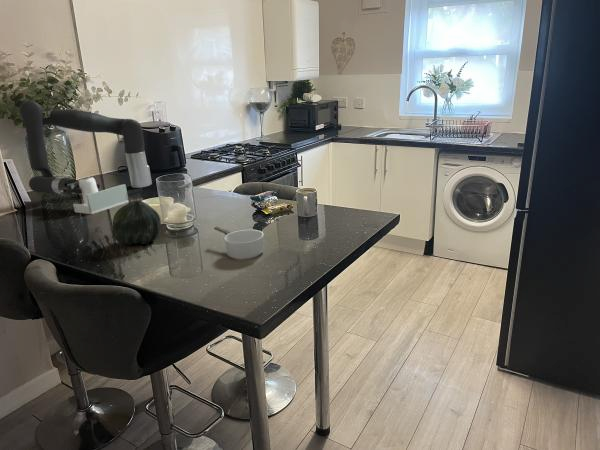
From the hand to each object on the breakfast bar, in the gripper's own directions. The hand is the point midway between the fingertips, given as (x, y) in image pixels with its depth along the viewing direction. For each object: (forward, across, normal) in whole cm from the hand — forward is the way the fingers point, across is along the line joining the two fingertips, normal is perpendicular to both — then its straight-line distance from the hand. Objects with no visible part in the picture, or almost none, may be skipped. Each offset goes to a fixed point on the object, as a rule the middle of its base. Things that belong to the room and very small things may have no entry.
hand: (90, 188), depth 189 cm
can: (-1, +1, +8) cm, 8 cm away
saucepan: (+88, -18, +9) cm, 90 cm away
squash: (+52, -22, +9) cm, 57 cm away
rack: (-1, +5, +9) cm, 10 cm away
